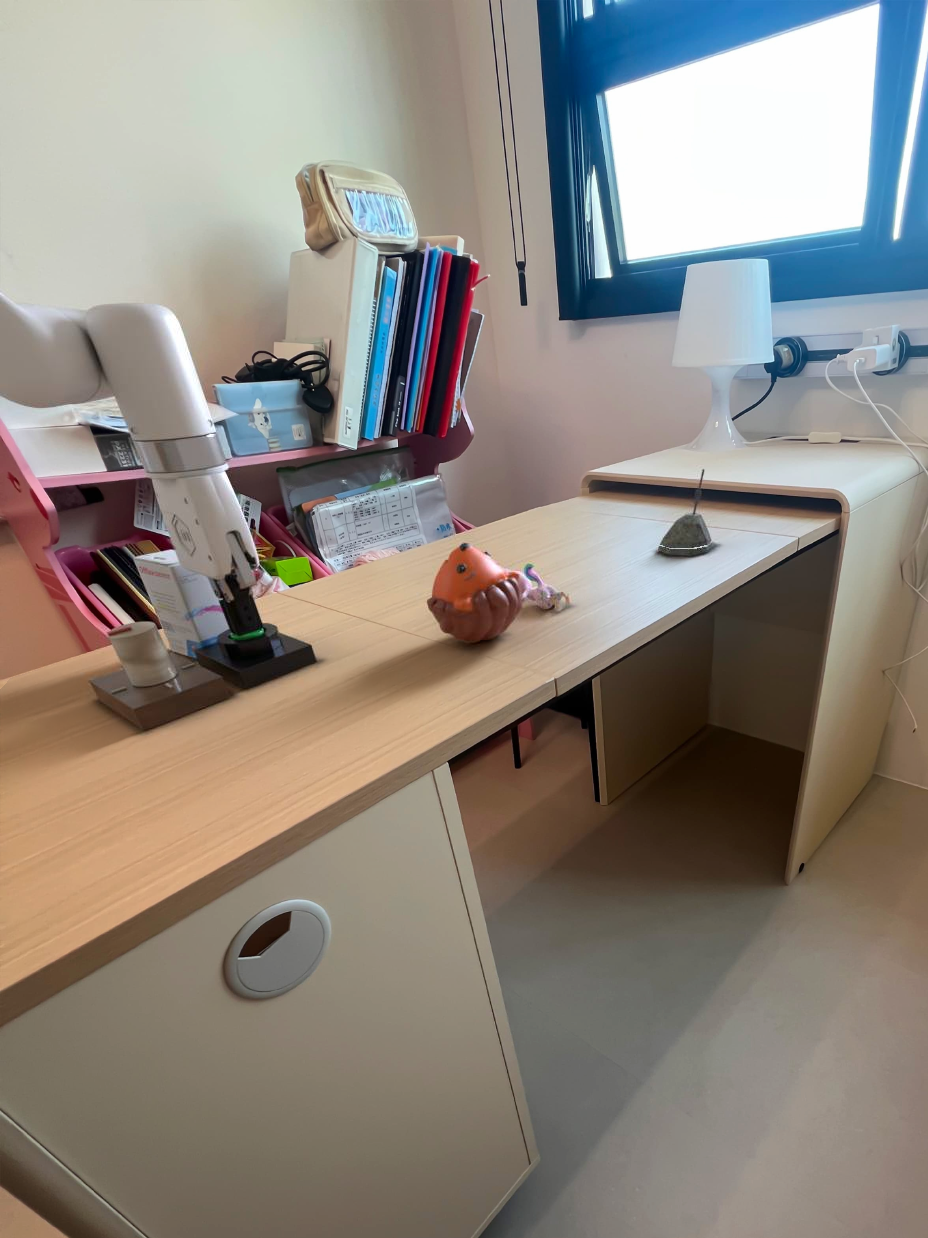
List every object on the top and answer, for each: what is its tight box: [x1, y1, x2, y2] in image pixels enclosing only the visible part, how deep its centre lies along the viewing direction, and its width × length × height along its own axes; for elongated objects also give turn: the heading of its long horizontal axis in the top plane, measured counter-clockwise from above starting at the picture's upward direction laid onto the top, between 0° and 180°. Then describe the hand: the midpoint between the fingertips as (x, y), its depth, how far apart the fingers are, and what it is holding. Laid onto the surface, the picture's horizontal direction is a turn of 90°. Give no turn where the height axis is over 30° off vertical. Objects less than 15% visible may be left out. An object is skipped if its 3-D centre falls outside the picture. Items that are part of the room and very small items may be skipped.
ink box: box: [133, 549, 229, 660], centre depth 79 cm, size 9×5×12 cm, turn 58°
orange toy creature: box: [426, 542, 523, 644], centre depth 79 cm, size 12×10×11 cm
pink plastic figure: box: [502, 563, 571, 613], centre depth 92 cm, size 6×6×15 cm
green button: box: [230, 628, 264, 640], centre depth 76 cm, size 4×4×2 cm
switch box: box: [194, 622, 317, 690], centre depth 77 cm, size 11×9×4 cm
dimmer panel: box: [88, 652, 231, 731], centre depth 71 cm, size 12×9×3 cm
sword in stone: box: [657, 468, 717, 557], centre depth 109 cm, size 10×8×12 cm
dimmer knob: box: [106, 621, 177, 687], centre depth 68 cm, size 4×4×6 cm
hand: (247, 630), depth 76 cm, fingers closed
